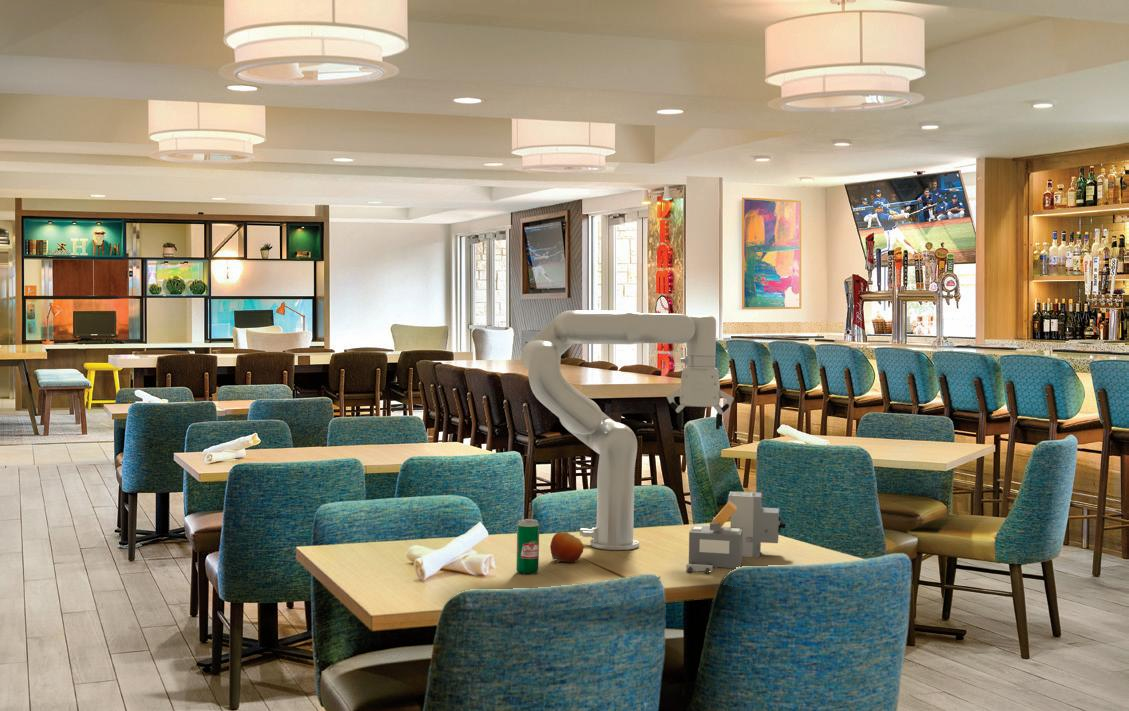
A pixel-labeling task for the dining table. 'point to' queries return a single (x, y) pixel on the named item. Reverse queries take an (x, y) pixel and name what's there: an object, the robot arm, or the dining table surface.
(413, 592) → the dining table surface
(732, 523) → the circuit breaker
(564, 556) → the fruit
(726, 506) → the lever
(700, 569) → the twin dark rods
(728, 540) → the panel
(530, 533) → the soda can
